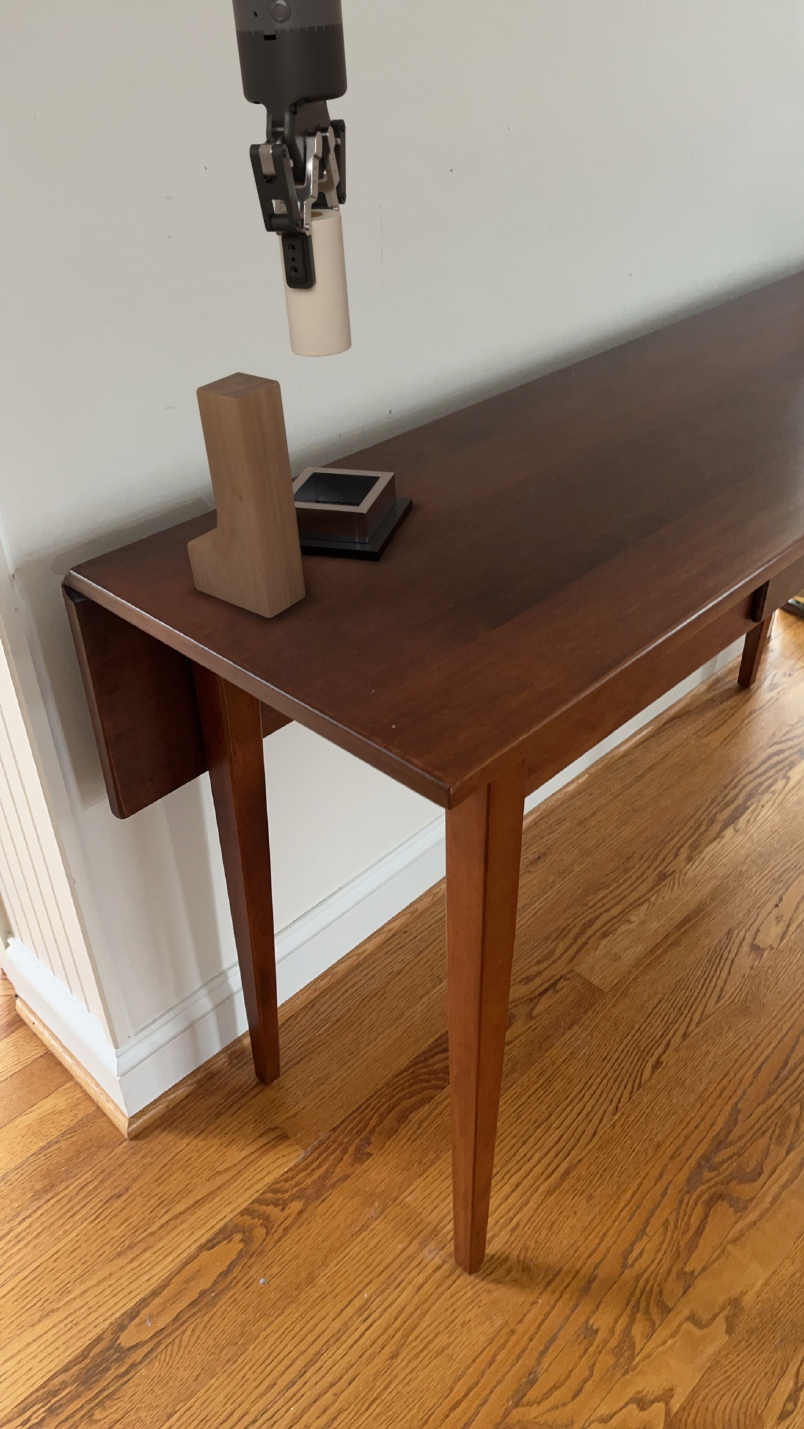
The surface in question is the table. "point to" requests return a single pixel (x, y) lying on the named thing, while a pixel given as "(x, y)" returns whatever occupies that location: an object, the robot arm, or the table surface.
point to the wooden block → (248, 499)
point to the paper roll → (321, 293)
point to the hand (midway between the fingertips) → (314, 277)
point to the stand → (347, 512)
